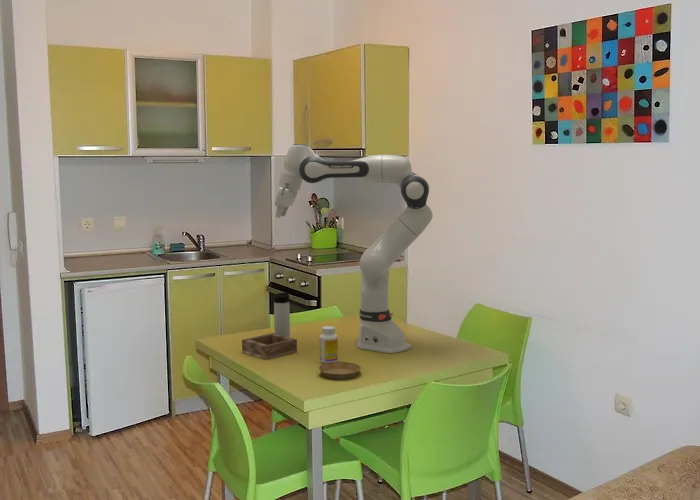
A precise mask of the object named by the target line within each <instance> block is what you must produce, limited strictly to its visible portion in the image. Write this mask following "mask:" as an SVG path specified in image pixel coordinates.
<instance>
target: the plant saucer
mask: <svg viewBox="0 0 700 500" xmlns="http://www.w3.org/2000/svg"><path fill="white" fill-rule="evenodd" d="M361 369H362V367H361V365H359V364H357V363H354V362H348V361H346V362H345V361H337V362H330V363H322V364H320V365H319V366H318V370H319V372H320V373H321V374H322V375H323V376H325V377H326V378H328V379H335V380H345V379H349V378H354V377H355V376H356V375H357V374H358V373H359V372H360V371H361Z"/></svg>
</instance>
